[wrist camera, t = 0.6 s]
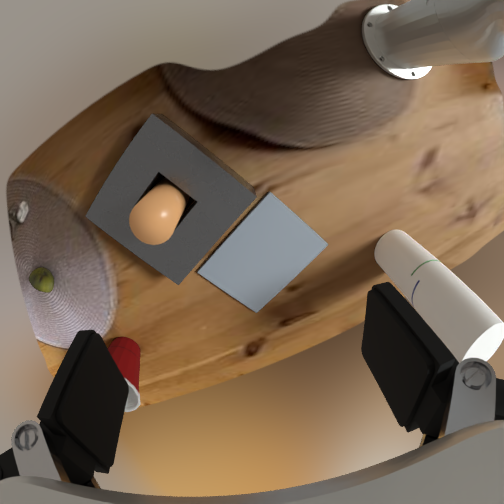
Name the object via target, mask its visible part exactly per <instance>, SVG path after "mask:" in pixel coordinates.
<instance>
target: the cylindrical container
mask: <svg viewBox="0 0 504 504" xmlns="http://www.w3.org/2000/svg"><path fill="white" fill-rule="evenodd" d="M374 255H375V260H376V262H377V263H378V265H379V266H380V267H381V268H382V269H383V270H384V272H385V273H386V274H387V275H388V276H389V277H390V279H391V280H392V281H393V282H394V283H395V285H396V286H397V287H398V288H399V289H400V291H401V292H402V293H403V294H404V295H405V297H406V298H407V299H408V300H409V301H410V303H411V304H412V305H413V306H414V308H415V309H416V310H417V312H418V313H419V314H420V315H421V317H422V318H423V319H424V321H425V322H426V323H427V324H428V325H429V326H430V328H431V329H432V330H433V331H434V332H435V333H436V335H437V336H438V337H439V338H440V339H441V341H442V342H443V343H444V344H445V345H446V347H447V348H448V349H449V350H450V351H451V353H452V354H453V355H454V356H455V358H456V359H457V361H458V362H459V363H460V362H461V361H463V360H464V359H467V358H479V359H482V360H484V361H487V360H488V359H489V358H490V357H491V356H492V355H493V354H494V353H495V351H496V350H497V349H498V347H499V345H500V344H501V342H502V340H503V338H504V323H503V322H502V320H501V319H500V318H498V316H497V315H496V314H495V313H494V312H493V311H492V310H491V309H490V308H489V307H488V306H487V305H486V304H485V303H484V302H483V301H482V300H481V299H480V298H479V297H478V296H477V295H476V294H475V293H474V292H473V291H472V290H471V289H470V288H468V287H467V285H465V284H464V283H463V282H462V281H461V280H460V279H459V278H458V277H457V276H456V275H454V273H452V272H451V271H450V270H449V269H448V268H447V267H446V266H445V265H443V264H442V263H441V262H440V261H439V260H438V259H436V258H435V257H434V256H433V255H432V254H431V253H429V252H428V251H427V250H426V249H425V248H423V247H422V246H421V245H420V244H419V243H417V242H416V241H415V240H414V239H413V238H411V237H410V236H409V235H408V234H406V233H405V232H404V231H402V230H391V231H389V232H387V233H385V234H384V235H383V236H382V237H381V238H380V239H379V241H378V243H377V244H376V247H375V252H374Z"/></svg>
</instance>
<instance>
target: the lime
mask: <svg viewBox="0 0 504 504" xmlns="http://www.w3.org/2000/svg"><path fill="white" fill-rule="evenodd" d="M29 281H30V283H31V285H32V286H33V287H34V288H35V289H37V290H38V291H42V292H51V291H52V290H53V287H54V278H53V276H52V274H51V272H50V271H49V270H47V269H45V268H41V267H40V268H37V269H35V270H34V271H32V273H31V274H30V277H29Z"/></svg>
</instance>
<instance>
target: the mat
mask: <svg viewBox="0 0 504 504" xmlns="http://www.w3.org/2000/svg"><path fill="white" fill-rule="evenodd" d="M327 245H328V244H327V243H326V242H325V241H324V240H323V239H322V238H321V237H320V236H319V235H318V234H317V233H316V232H315V231H314V230H312V229H311V228H310V227H309V226H308V225H307V224H306V223H305V222H304V221H303V220H301V219H300V218H299V217H298V216H297V215H296V214H295V213H294V212H293V211H291V210H290V209H289V208H288V207H287V206H286V205H285V204H284V203H282V202H281V201H280V200H279V199H278V198H277V197H276V196H274V195H273V194H272V193H271V192H270V191H269V192H268V194H267V195H266V196H265V197H264V198H263V199H262V200H261V201H260V202H259V203H258V204H257V205H256V207H255V208H254V209H253V210H252V211H251V212H250V213H249V214H248V215H247V216H246V217H245V219H244V220H243V221H242V222H241V223H240V224H239V225H238V226H237V227H236V228H235V229H234V231H233V232H232V233H231V234H230V235H229V236H228V237H227V238H226V239H225V241H224V242H223V243H222V244H221V245H220V246H219V247H218V248H217V249H216V251H215V252H214V253H213V254H212V255H211V256H210V257H209V258H208V260H207V261H206V262H205V263H204V264H203V265H202V266H201V267H200V269H199V270H198V272H197V273H199V274H200V275H202V276H203V277H205V278H206V279H207V280H209V281H210V282H212V283H213V284H215V285H216V286H218V287H219V288H220V289H222V290H223V291H225V292H226V293H228V294H229V295H231V296H232V297H234V298H235V299H237V300H238V301H240V302H241V303H243V304H244V305H246V306H247V307H249V308H250V309H252V310H253V311H255V312H256V313H257V312H258V311H259V310H260V309H262V308H263V307H264V306H265V305H266V304H267V303H268V302H269V301H270V300H271V299H272V298H273V297H275V296H276V295H277V294H278V293H279V292H280V291H281V290H282V289H283V288H284V287H285V286H286V285H287V284H288V283H289V282H290V281H291V280H293V279H294V278H295V277H296V276H297V275H298V274H299V273H300V272H301V271H302V270H303V269H304V268H305V267H306V266H307V265H308V264H309V263H310V262H311V261H312V260H313V259H314V258H315V257H316V256H317V255H318V254H319V253H320V252H321V251H322V250H323V249H324V248H325V247H326V246H327Z"/></svg>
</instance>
